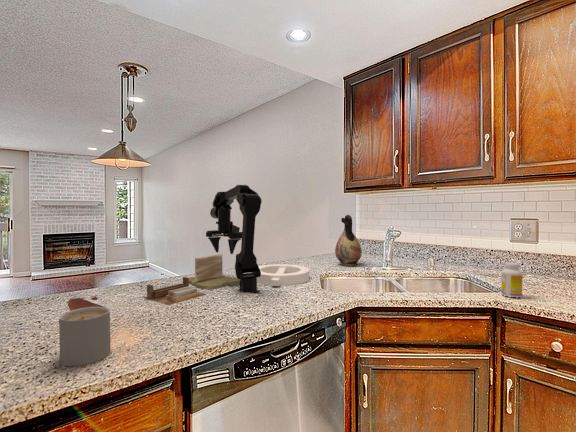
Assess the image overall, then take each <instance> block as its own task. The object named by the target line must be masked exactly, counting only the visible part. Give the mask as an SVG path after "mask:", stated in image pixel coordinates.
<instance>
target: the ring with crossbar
mask: <svg viewBox="0 0 576 432" xmlns="http://www.w3.org/2000/svg"><path fill="white" fill-rule="evenodd" d="M258 267H259V269H260V271H261V276H260V277H257V284H258V283H259V284H260V285H264V284H265V286H270V287H280V286H281V287H284V286H285V287H286V286H294V285H295V286H297V285H301V284H304V283H305V284H306V283H307V282H308V281H310V268H309V267H307V266H303V265H299V264H285V263H284V264H282V263H279V264H277V263H276V264H275V263H274V264H263V265H258ZM250 273H253V272H250Z"/></svg>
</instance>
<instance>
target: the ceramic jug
mask: <svg viewBox="0 0 576 432" xmlns="http://www.w3.org/2000/svg"><path fill="white" fill-rule="evenodd" d="M340 220H341V223H342V224H344V229H343V231H342V233H341V234H340V236H339V238H338V240H337V242H336V245H335V249H334V252H335V258H336V259H337V260H338V261H339V263H340V265H341V266H342V267H343V266H345V267H354V266H357V265H358V264H357V263H358V262H359V261H360V259H361V257H362V253H363V252H362V247H361V244H360V242H359V240H358V238H357V237H356V235H355V234H354V233H353V218H352V216H351V215H350V214H346V215H345V216H344V217H341V219H340Z"/></svg>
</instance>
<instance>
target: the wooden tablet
mask: <svg viewBox="0 0 576 432" xmlns="http://www.w3.org/2000/svg"><path fill="white" fill-rule="evenodd" d="M88 299H90V300H92V301H89V300H86V297H75V298H72V299H69V300H68V308H69V311H72V310H76V309H80V308H87V307H104V306H103V305H100V304H98V303H95V302H93V301H97V300H99V298H98V295H96V294H95V295H91V296H89V297H88Z"/></svg>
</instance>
